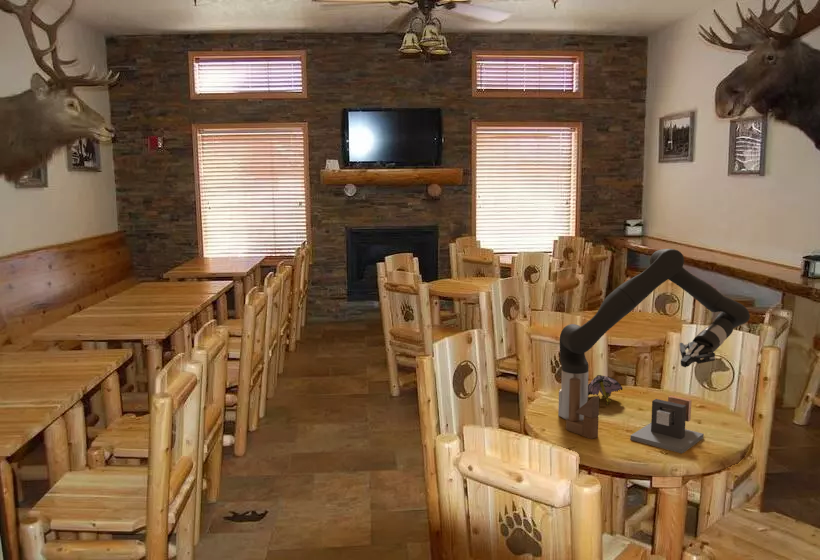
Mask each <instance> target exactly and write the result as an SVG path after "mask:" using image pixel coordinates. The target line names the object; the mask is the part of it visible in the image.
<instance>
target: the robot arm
mask: <svg viewBox="0 0 820 560" xmlns="http://www.w3.org/2000/svg"><path fill="white" fill-rule="evenodd" d="M684 264H685V257H684V254H683V253H682V252H681V251H680V250H677V249H675V248H662V249H658V250H655V251H654V252H653V253H652V254H651V255H650V257H649V266H648V267H647V268H646V269H644V270H643V271H642V272H641V273H639V274H637V275H634V276H633V277H631V278H629V279H628V280H626V281H625V282H623V283H621V284H620V285H619V286H617V287H616V288H615V289H614V290H613V291H612V292H610V293H609V294H608V295H607V296H606V297H605V299H604V300H603V301H602V303H601V304H600V307H599V308H598V310H597V312H596V313H595V314H594V315H593V317H592V318H590V319H589V320H588V321H586V322H585V323H584V324H583V325H578V324H575V323H569V324H567V325H566V326H564V327H563V328H562V330H561V332H560V335H559V361H560V364H561V379H560V380H561V384H560V385H561V386H560V387H561V388H560V389H559V390H558V409H557V410H558V412H557V413H558V415H557V416H558V417H561V418H562V419H563V420H565V421H566V420H568V419H569V380H570V379H571V378H578V379H580V408H581V407H582V406H583V405H584V404H585V403H587V402H588V401H589V396H588V385H589V369H590V367H589V363H588V360H587V357H586V354H585V353H586V352H588V351H589V350H591V349H592V348H593V347H594V345H596V343H598V341H600V339H601V338H602V337H603V336H604V335H605V334H606V333H607V332H608V331H609V330H610V329H611V328H613V327H614V326H615V325H616V324H617V323H618V322H620V321H621V320H622V319H623V318H624V317H626V316H627V315H628V314H630V313H631V312H632V311H633V310H634V309H635V308H636V307H638V306H639V305H640V303H642V302H643V301H644V300H645V299H646V298H648V296H650V294H652V293H653V292H654V291H655V290H656V289H657V288H658V287H660V286H661V285H662V284H663V283H665V282H667V281H668V280H669V281H670V282H672V283H673V284H675V285H676V286H677V287H679V288H681V289H682V290H683V291H685V292H686V293H688V295H690V296H691V297H692V298H694V299H695V300H696V301H697V302H698V303H700V304H701V305H702V306H704V308H706V309H707V311H710V312H711V313H718V314H717V315H716V316H715V319H714V320H713V322H711V323H710V324H709V325H708V326H706V327H705V328H704V329H702V330H701V331H700V332H699V333H698V334H697V335H696V336H695V337H694V338H693V340H692V341H689V342H688V343H686V344H684V342H679V351H680V355H681V359H680V367H683V368H687V367H690V365H692V364H693V363H694V364H695V363H696V364H699V365H700V364H704V363H708V362H709V363H710V362H714V361H716V353H715V351H717V349H718V348H720V347H721V346H722V345H723V343H724V342H725V340H727V339H728V338H729V337H730V336H731V335H732V333H733V331H734V329H735V328H737V327H740V326H742V325H743V324H744V325H745V324H746V323H748V322H749V320H750V319H751V316H750V311H749V309H748V308H747V307H746V306H744V305H743V304H742V303H740V302H738V301H736V300H734V299H732V298H730V297H727V296H726V295H723V294H722V293H720V291H718V290H717V289H716V288H714V287H713V286H712V285H711V284H710V283H708V282H706V281H705V280H702V279H701V278H699V277H697V276H695V275H694V274H692V273H691V272H689V271H688V270H686V269H685V268H684V267H683V266H684ZM687 350H688V351H687ZM580 421H584V415H581V414H580Z"/></svg>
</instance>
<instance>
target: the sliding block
mask: <svg viewBox="0 0 820 560" xmlns="http://www.w3.org/2000/svg"><path fill="white" fill-rule="evenodd" d="M667 401H668V402H673V403H677V404H682V405H686V421H685V422H690V421H691V418H692V417H691V416H692V401H693V400H692V399H690V398H684V397H680V396H675V395H669V396H667ZM674 415H675V410H670V409H666V408H661V409H660V410H658V411H657V422H656V423H658V424H662V425H666V426H670V425H671V424H673V423H674Z"/></svg>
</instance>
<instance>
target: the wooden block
mask: <svg viewBox="0 0 820 560" xmlns="http://www.w3.org/2000/svg"><path fill="white" fill-rule="evenodd" d="M599 408H600V395H595V396H593V397H591V398H590V399H588V402H587V403H585V404H584V405H583V406H582V407H581V408H580V379H578V378H571V379H570V380H569V419H568V420H566V419H565V422H566V423H565V429H566V430H567V431H569V432H571V433H575V434H577V435H579V436H583V437H584V438H587V439H589V440H590V439H591V440H593V439H596V438H598V437H599V419H600V418H599V414H600V413H599V412H600V409H599ZM580 414H581V415H584V420H583V421H580Z"/></svg>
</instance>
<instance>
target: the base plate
mask: <svg viewBox="0 0 820 560" xmlns="http://www.w3.org/2000/svg"><path fill="white" fill-rule="evenodd" d="M629 437H630V440H631V441H634V442H638V443H641V444H645V445H650V446H653V447H656V448H659V449H664V450H666V451H667V450H668V451H672V452H675V453H679V454H682V453H683V454H685V452H687V451H688V450H689V449H690V448H692V447H693V446H695V445H696V444H697V443H699V442H700V441H702V440H703V439H704V437H705V436H704V433H703V432H699V431H696V430H695V431H694V430H691V429H686V428H685V437H684V438H682V439H678V438H674V437H670V436H666V435H663V434H659V433H655V432H651V422H649V423H648V424H646V425H644V427H642V428H640V429H638V430H637V431H636V432H633V433H632V434H630V436H629Z"/></svg>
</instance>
